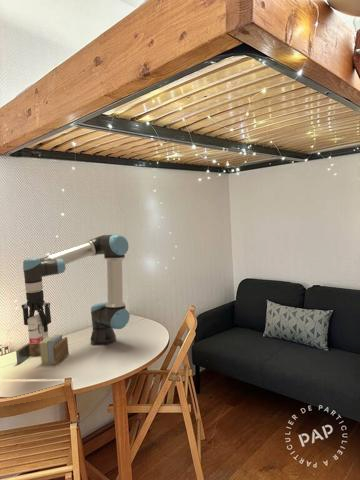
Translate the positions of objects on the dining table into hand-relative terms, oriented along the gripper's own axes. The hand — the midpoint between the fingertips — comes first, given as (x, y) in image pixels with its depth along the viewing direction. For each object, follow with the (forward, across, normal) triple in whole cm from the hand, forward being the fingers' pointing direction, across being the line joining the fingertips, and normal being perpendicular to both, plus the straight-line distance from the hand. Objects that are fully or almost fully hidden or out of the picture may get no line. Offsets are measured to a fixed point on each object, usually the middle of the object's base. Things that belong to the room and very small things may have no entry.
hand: (39, 338), depth 158 cm
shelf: (+19, +9, -16) cm, 26 cm away
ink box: (+1, 0, 0) cm, 1 cm away
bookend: (+17, +20, -15) cm, 30 cm away
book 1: (+17, +5, -15) cm, 24 cm away
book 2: (+17, +1, -15) cm, 23 cm away
